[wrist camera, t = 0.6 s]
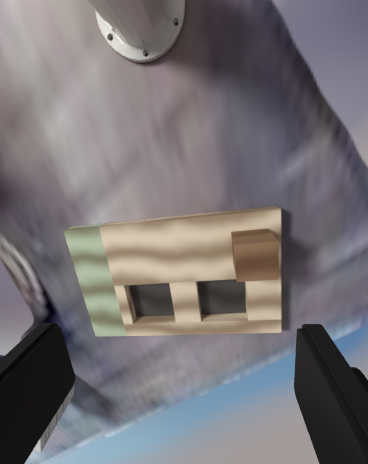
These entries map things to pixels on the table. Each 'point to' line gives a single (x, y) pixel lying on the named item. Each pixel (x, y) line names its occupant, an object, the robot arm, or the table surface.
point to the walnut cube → (255, 255)
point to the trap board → (174, 275)
